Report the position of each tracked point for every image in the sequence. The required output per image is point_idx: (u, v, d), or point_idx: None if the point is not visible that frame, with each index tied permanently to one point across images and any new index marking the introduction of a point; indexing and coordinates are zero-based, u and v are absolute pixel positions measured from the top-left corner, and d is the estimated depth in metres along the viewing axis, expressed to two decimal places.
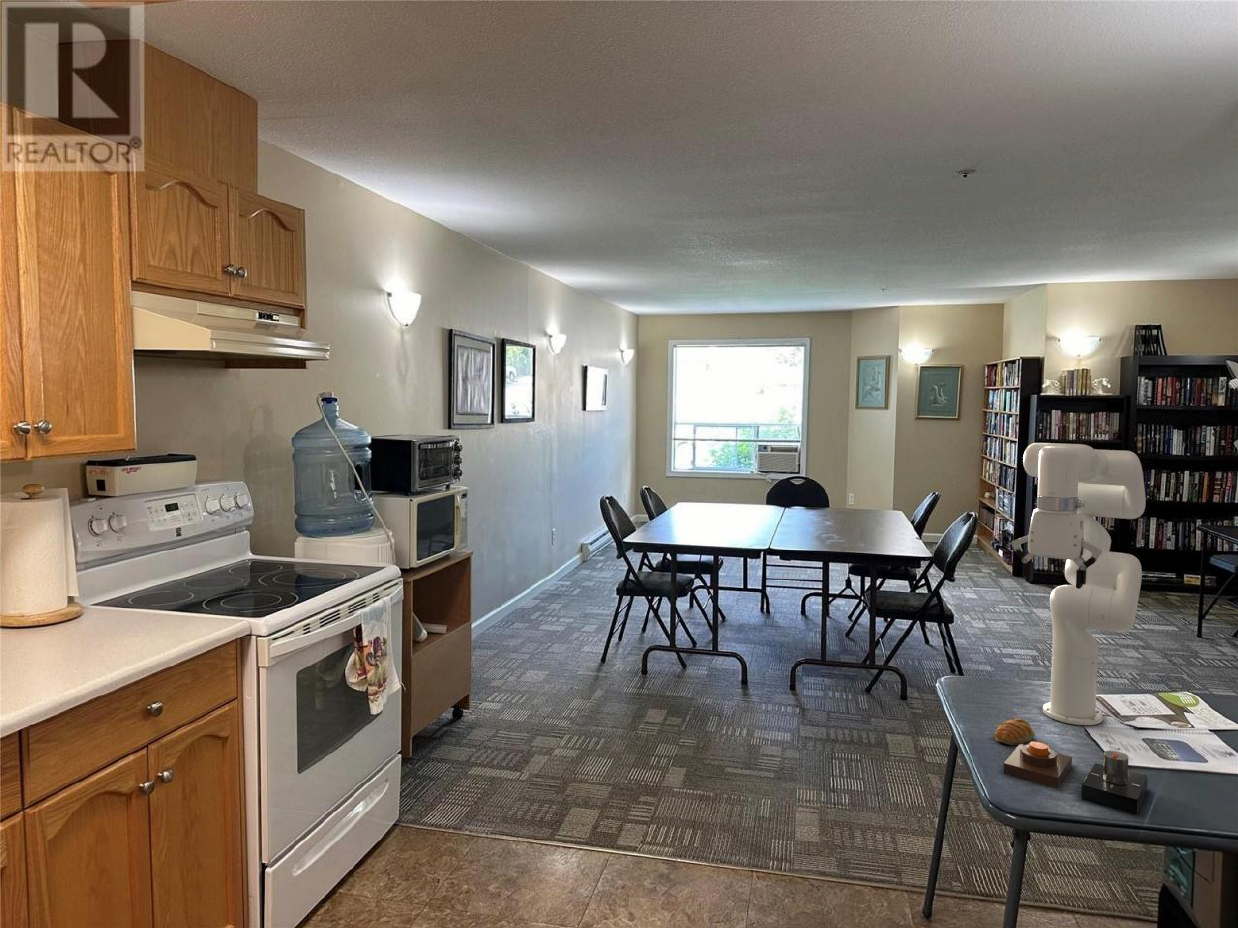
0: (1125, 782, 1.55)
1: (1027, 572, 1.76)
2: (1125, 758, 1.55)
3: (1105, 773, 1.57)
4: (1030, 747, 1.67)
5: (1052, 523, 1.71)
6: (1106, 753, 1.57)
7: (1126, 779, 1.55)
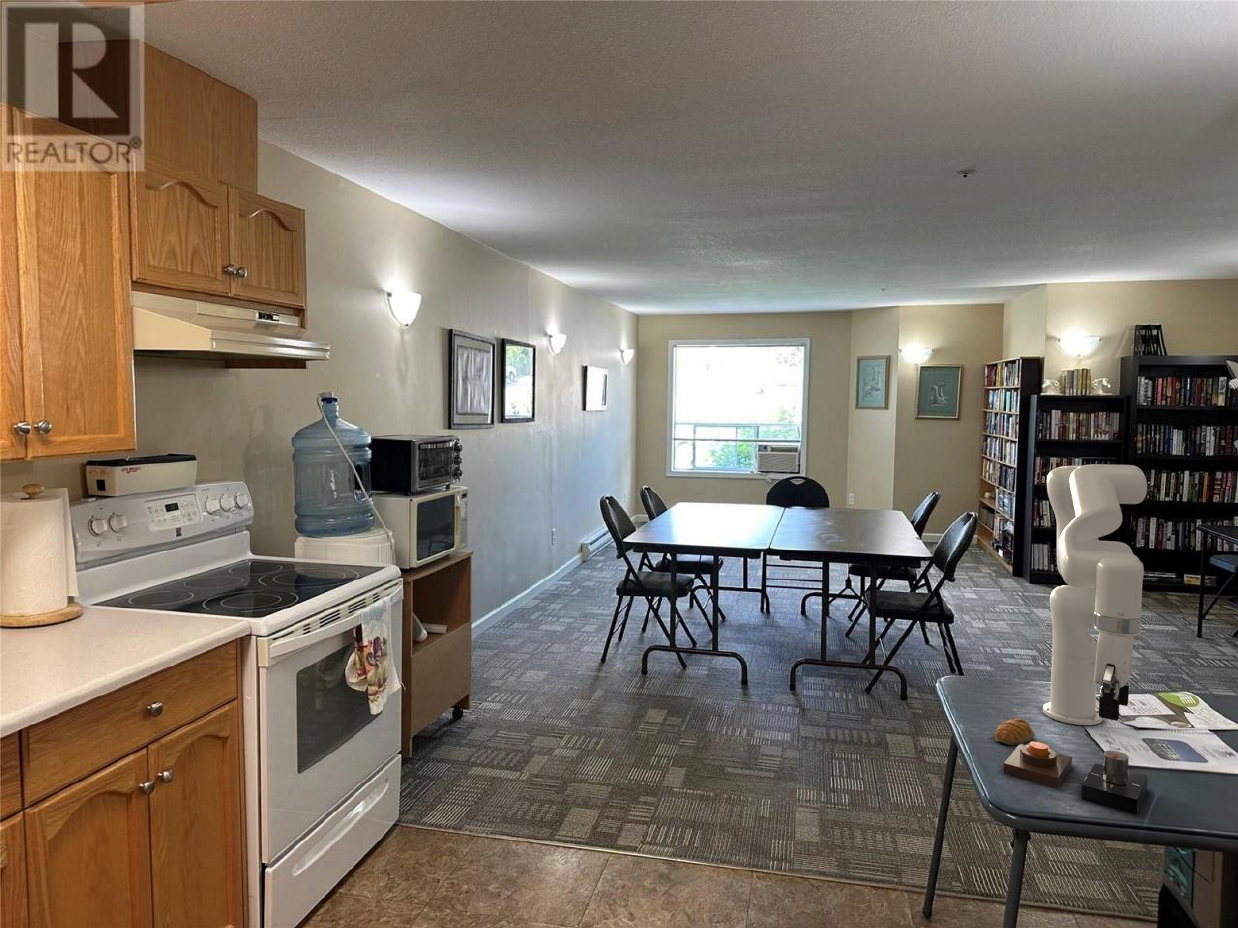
0: (1125, 782, 1.55)
1: (1118, 709, 1.52)
2: (1125, 758, 1.55)
3: (1105, 773, 1.57)
4: (1030, 747, 1.67)
5: (1131, 645, 1.54)
6: (1106, 753, 1.57)
7: (1126, 779, 1.55)
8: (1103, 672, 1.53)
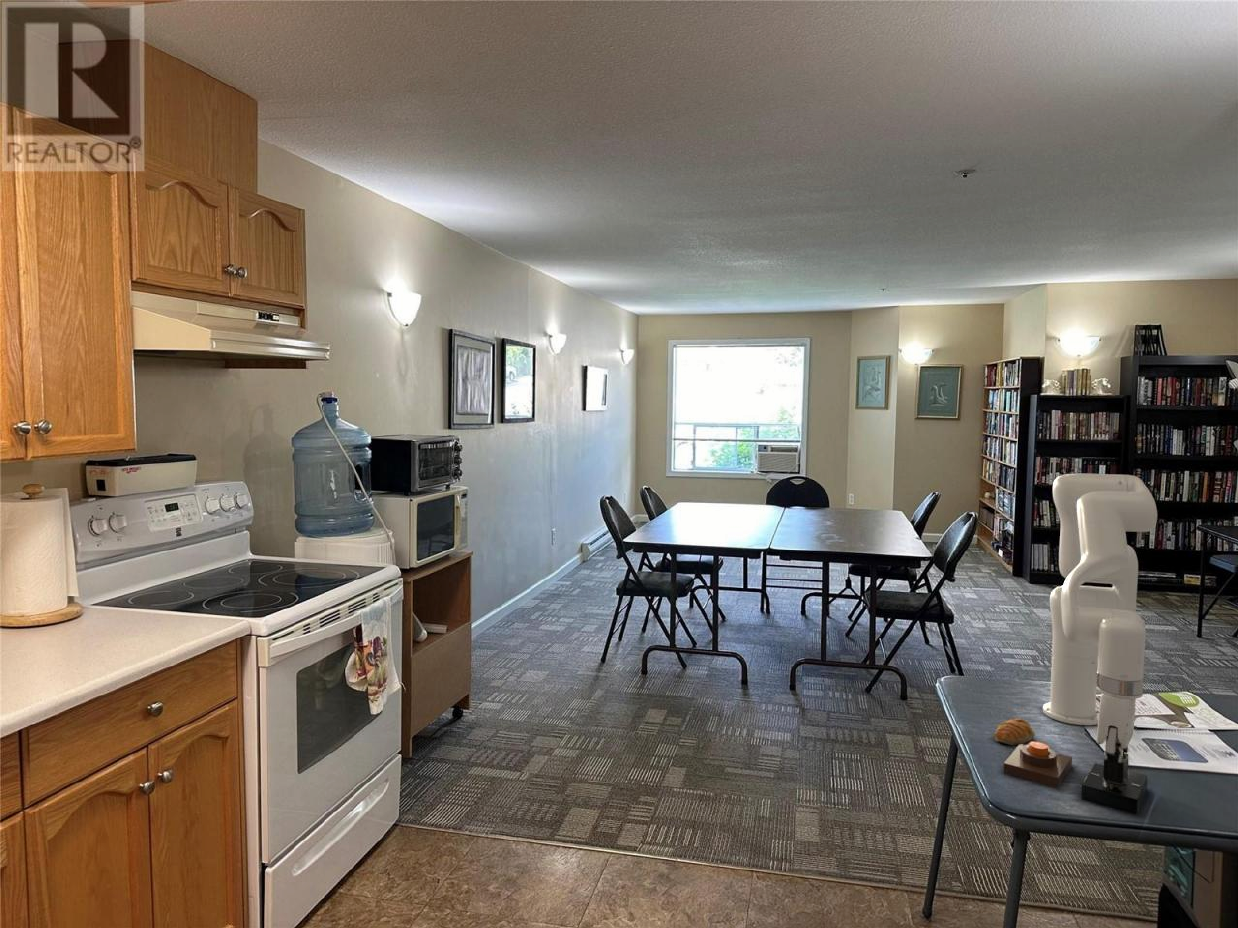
0: (1125, 782, 1.55)
1: None
2: (1125, 758, 1.55)
3: None
4: (1030, 747, 1.67)
5: (1134, 706, 1.54)
6: None
7: (1126, 779, 1.55)
8: (1105, 734, 1.53)
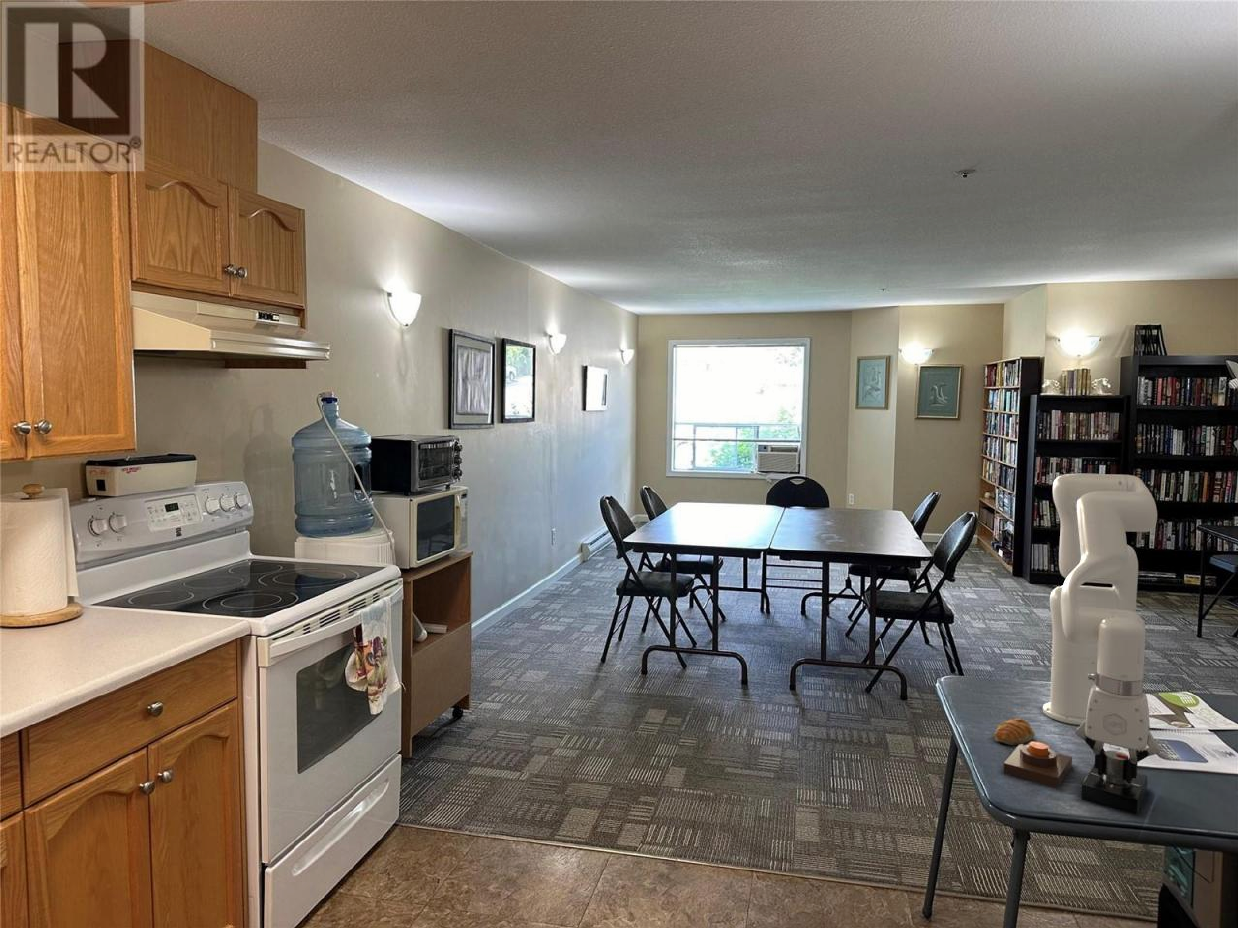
0: None
1: None
2: (1121, 753, 1.57)
3: (1122, 777, 1.55)
4: (1030, 747, 1.67)
5: None
6: (1117, 758, 1.55)
7: None
8: (1147, 736, 1.52)
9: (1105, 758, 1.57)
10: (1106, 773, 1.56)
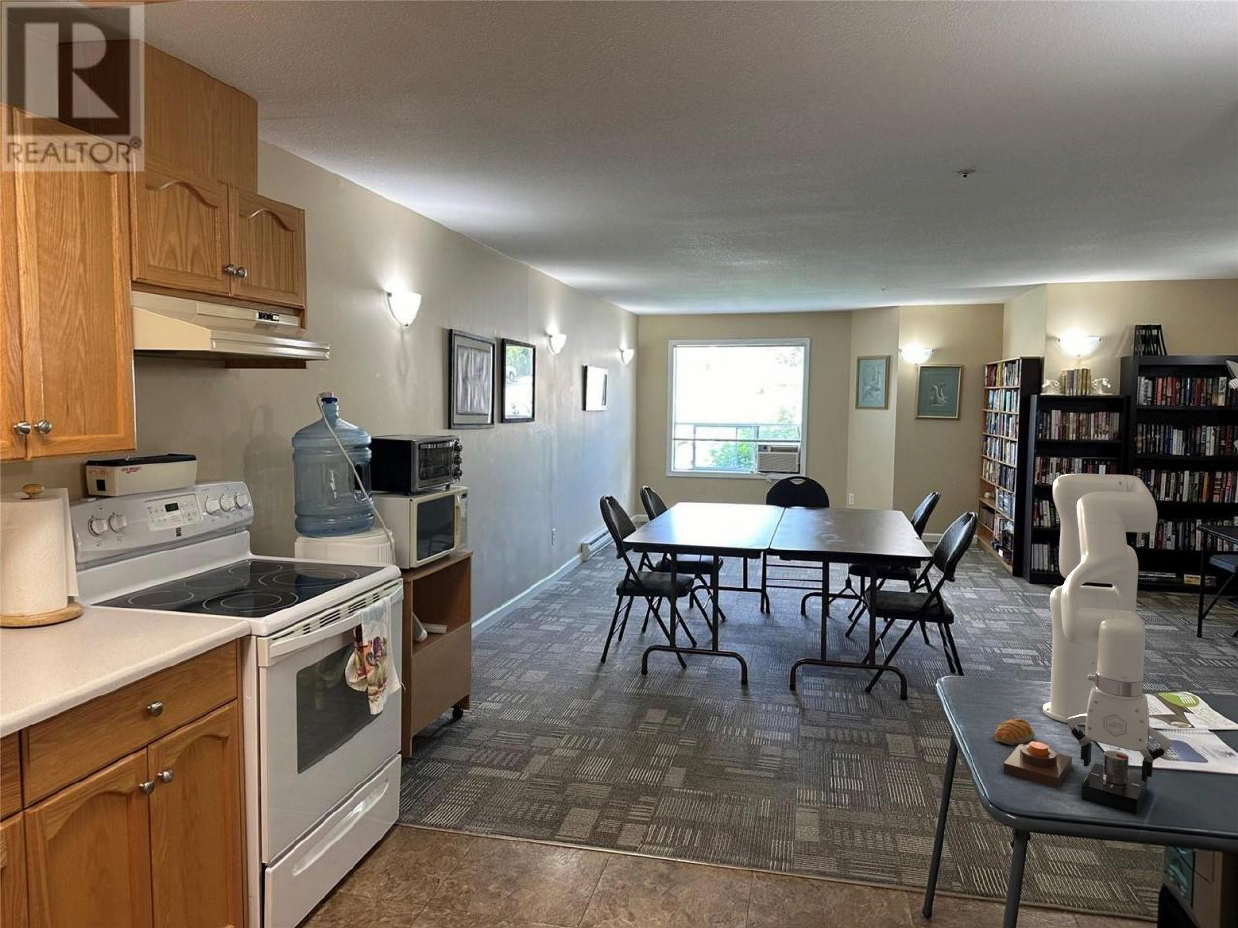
0: None
1: None
2: (1121, 752, 1.57)
3: (1122, 777, 1.55)
4: (1030, 747, 1.67)
5: None
6: (1117, 758, 1.55)
7: None
8: (1147, 736, 1.52)
9: (1105, 758, 1.57)
10: (1107, 773, 1.56)
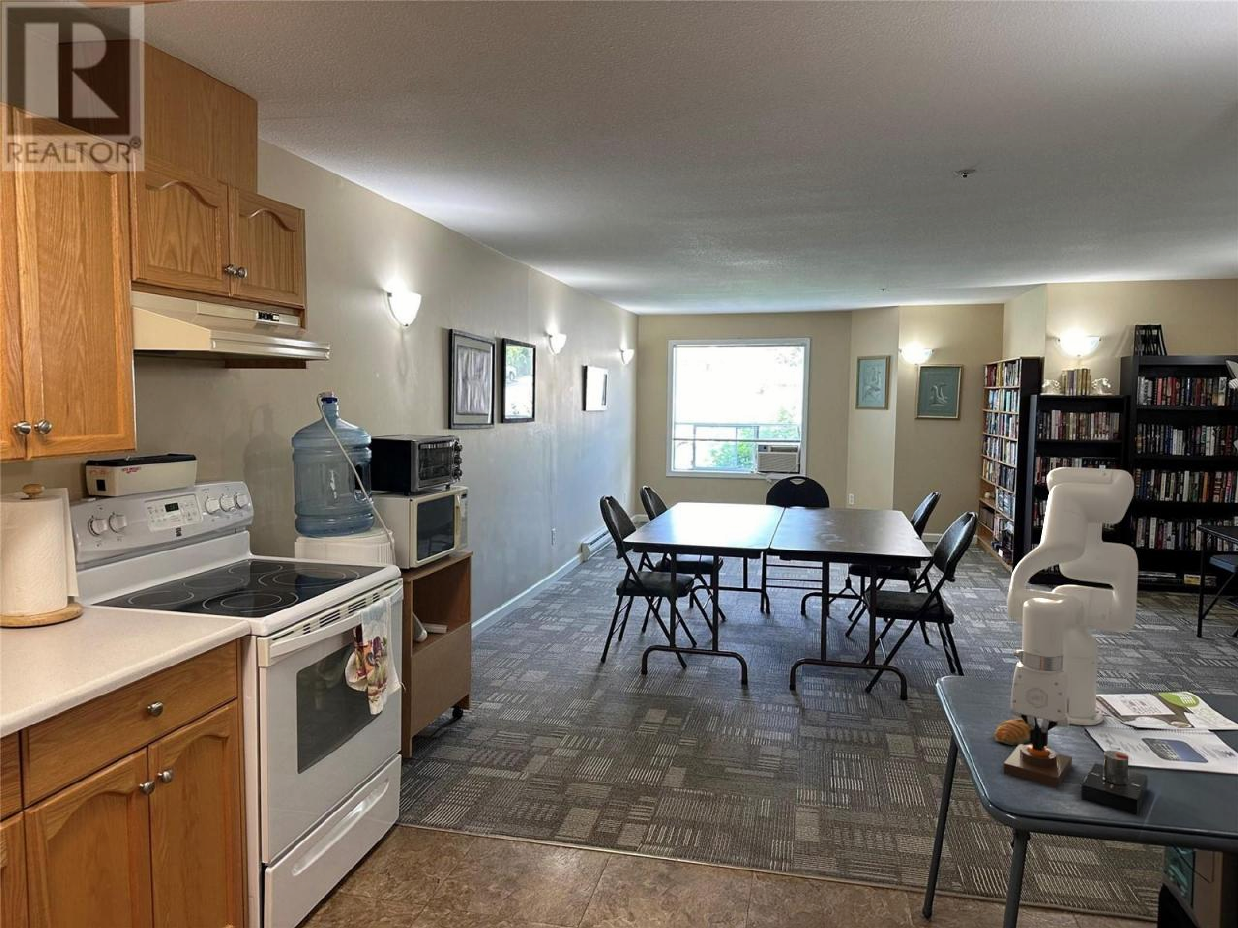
0: None
1: None
2: (1121, 752, 1.57)
3: (1122, 777, 1.55)
4: (1030, 749, 1.67)
5: None
6: (1117, 758, 1.55)
7: None
8: (1066, 708, 1.62)
9: (1105, 758, 1.57)
10: (1107, 773, 1.56)
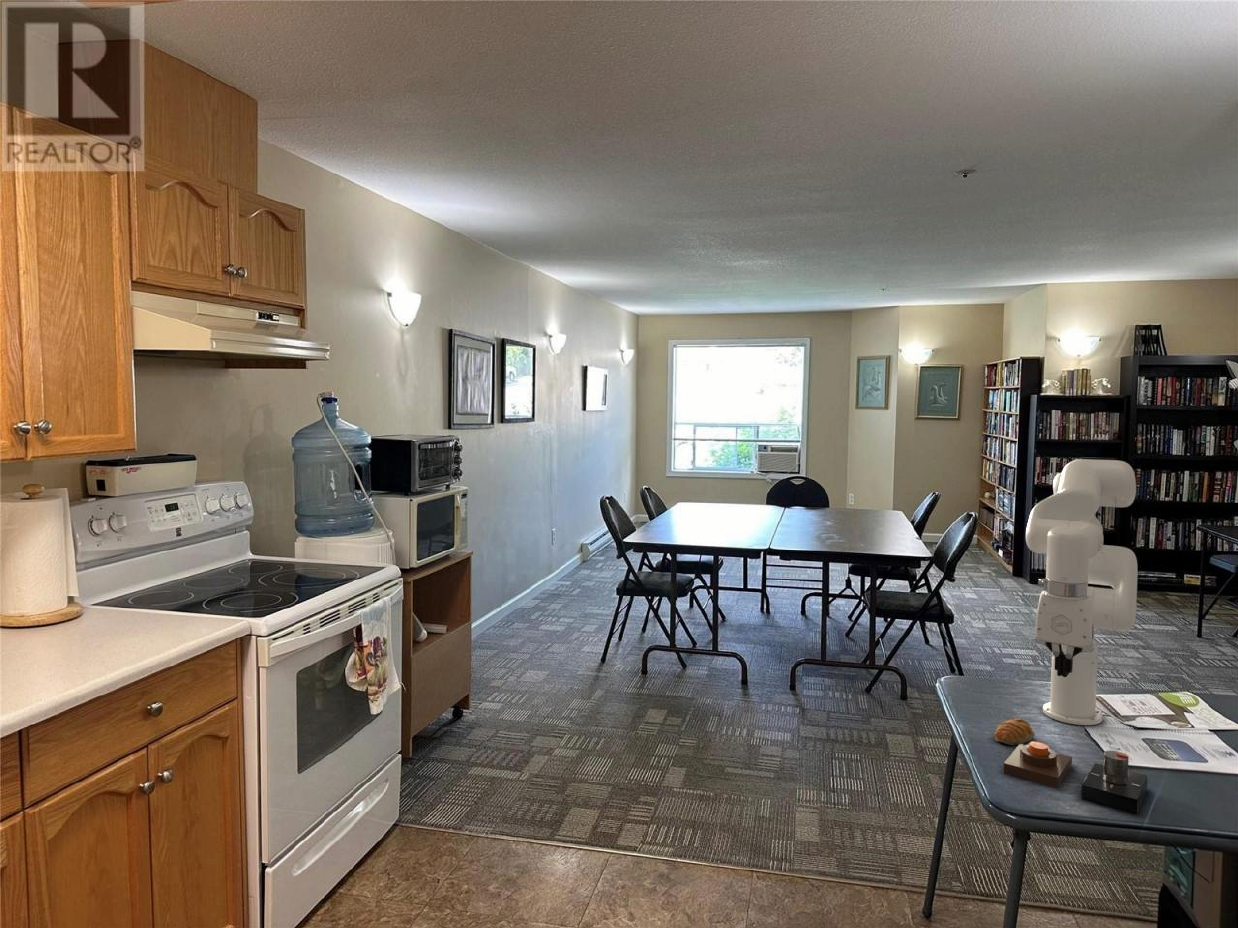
0: None
1: None
2: (1121, 752, 1.57)
3: (1122, 777, 1.55)
4: (1030, 747, 1.67)
5: None
6: (1117, 758, 1.55)
7: None
8: (1091, 634, 1.63)
9: (1105, 758, 1.57)
10: (1107, 773, 1.56)
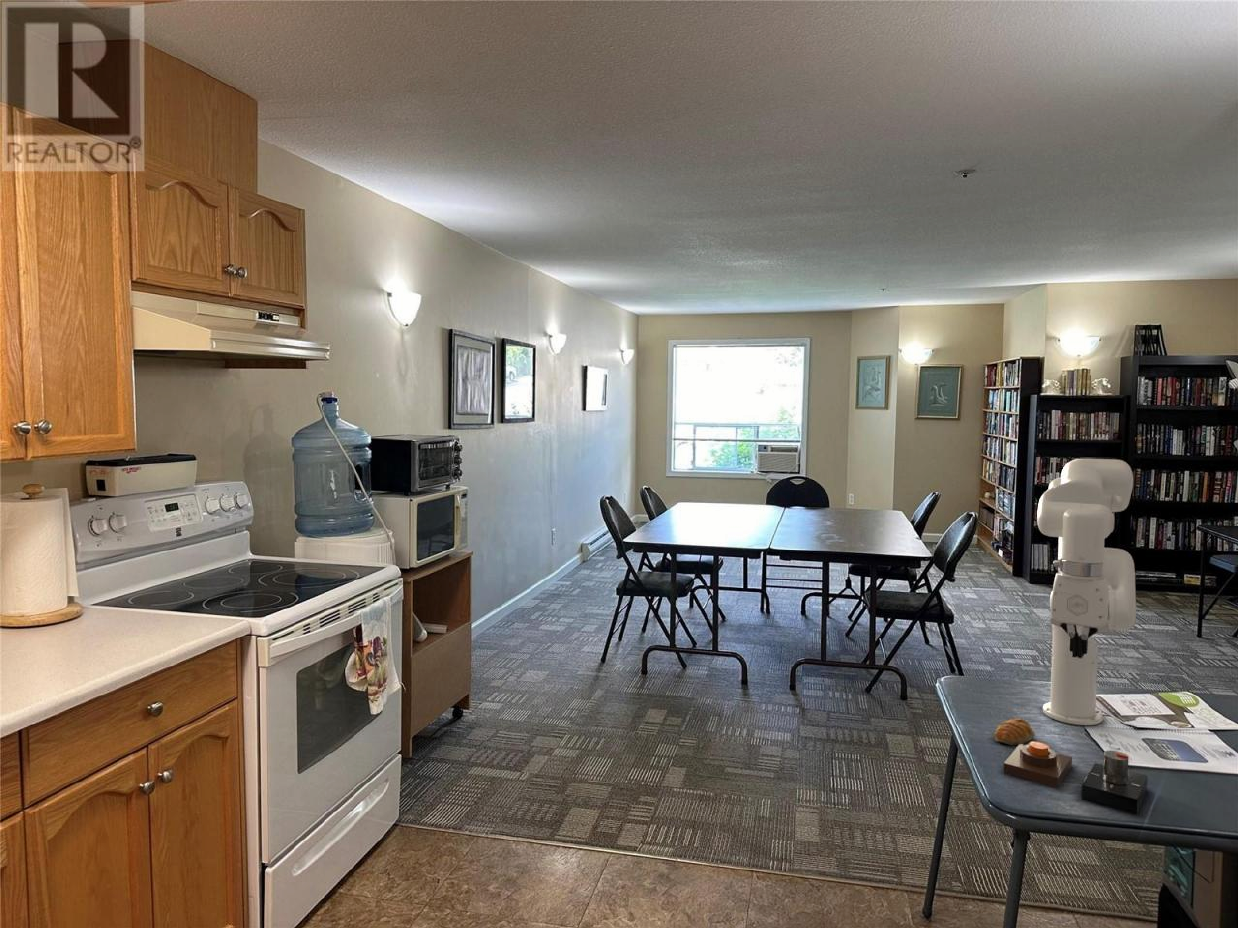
0: None
1: None
2: (1121, 752, 1.57)
3: (1122, 777, 1.55)
4: (1030, 747, 1.67)
5: None
6: (1117, 758, 1.55)
7: None
8: (1107, 614, 1.64)
9: (1105, 758, 1.57)
10: (1107, 773, 1.56)
